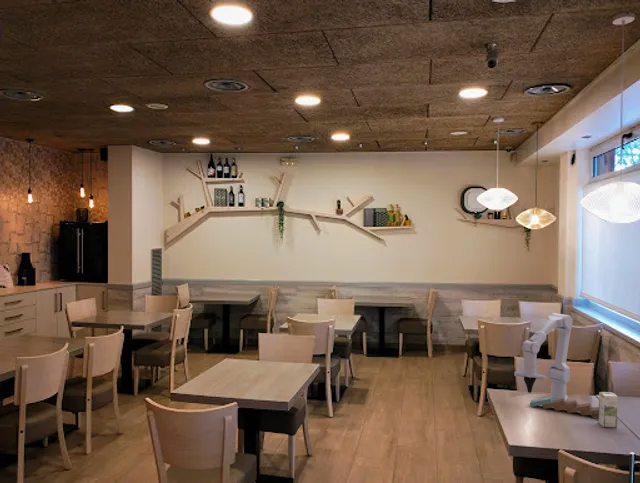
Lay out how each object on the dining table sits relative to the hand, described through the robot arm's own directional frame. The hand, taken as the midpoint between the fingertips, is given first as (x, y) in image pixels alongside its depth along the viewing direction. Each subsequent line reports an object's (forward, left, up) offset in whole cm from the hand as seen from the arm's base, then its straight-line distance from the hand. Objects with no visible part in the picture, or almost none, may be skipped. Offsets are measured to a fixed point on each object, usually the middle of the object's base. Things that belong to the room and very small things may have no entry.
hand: (529, 392), depth 269 cm
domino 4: (0, +18, -6) cm, 19 cm away
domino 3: (0, +12, -6) cm, 13 cm away
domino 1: (0, +1, -6) cm, 6 cm away
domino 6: (0, +28, -6) cm, 29 cm away
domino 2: (0, +7, -6) cm, 9 cm away
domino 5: (0, +24, -5) cm, 24 cm away
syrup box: (+11, +35, -7) cm, 37 cm away
